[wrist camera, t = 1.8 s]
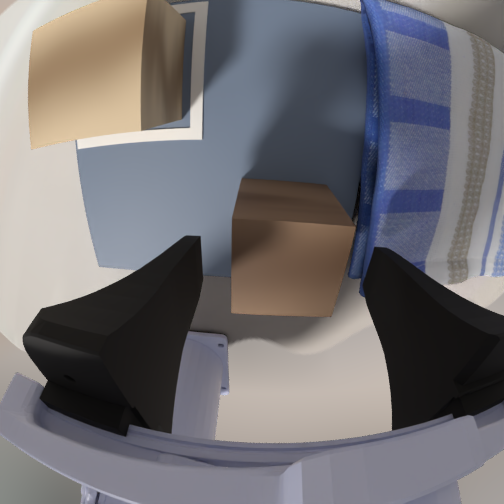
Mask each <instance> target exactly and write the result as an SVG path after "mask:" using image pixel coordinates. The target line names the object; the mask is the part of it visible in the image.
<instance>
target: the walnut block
mask: <svg viewBox="0 0 504 504" xmlns="http://www.w3.org/2000/svg"><path fill="white" fill-rule="evenodd" d="M355 229H356V226H355V225H354V223H353V222H352V220H351V219H350V217H349V216H348V214H347V213H346V211H345V210H344V208H343V207H342V206H341V204H340V203H339V201H338V200H337V198H336V197H335V196H334V194H333V193H332V192H331V190H330V189H329V187H328V186H327V185H324V184H315V183H304V182H292V181H279V180H264V179H246V178H241V182H240V186H239V190H238V194H237V199H236V203H235V207H234V211H233V215H232V243H231V313H237V314H254V315H276V316H313V317H331V316H332V313H333V310H334V306H335V303H336V300H337V297H338V293H339V290H340V287H341V283H342V280H343V276H344V273H345V269H346V265H347V261H348V258H349V254H350V250H351V246H352V242H353V238H354V234H355Z"/></svg>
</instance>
